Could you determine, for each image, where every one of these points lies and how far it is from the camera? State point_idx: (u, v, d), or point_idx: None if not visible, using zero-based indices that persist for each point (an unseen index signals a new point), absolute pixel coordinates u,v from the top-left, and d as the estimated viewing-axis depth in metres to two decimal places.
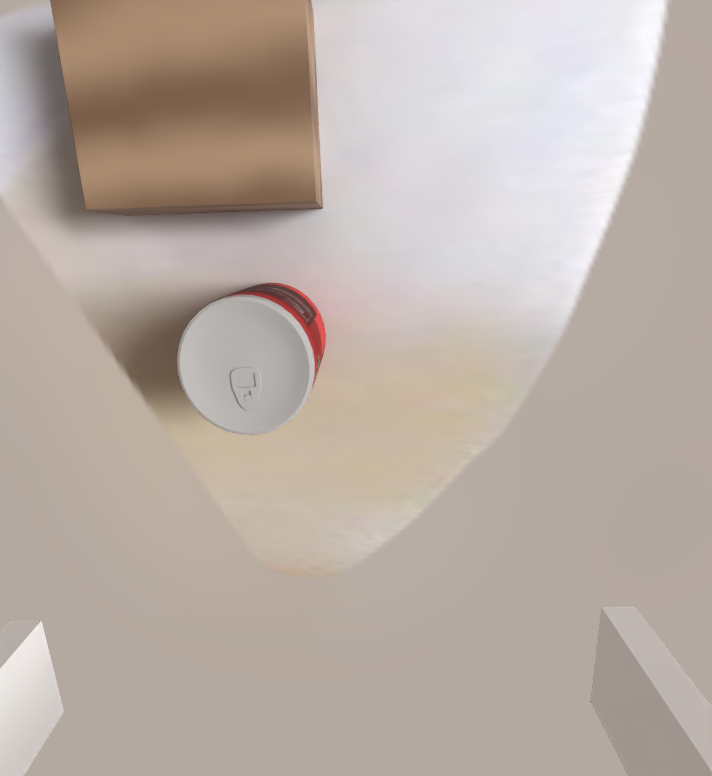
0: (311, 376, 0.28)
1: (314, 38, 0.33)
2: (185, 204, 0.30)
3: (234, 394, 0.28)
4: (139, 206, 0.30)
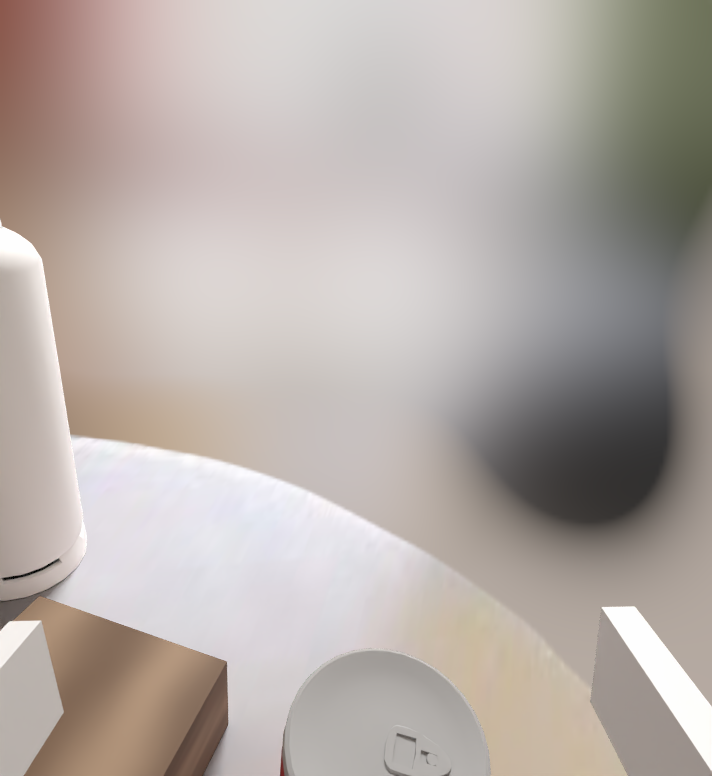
0: (416, 658, 0.22)
1: None
2: None
3: None
4: None
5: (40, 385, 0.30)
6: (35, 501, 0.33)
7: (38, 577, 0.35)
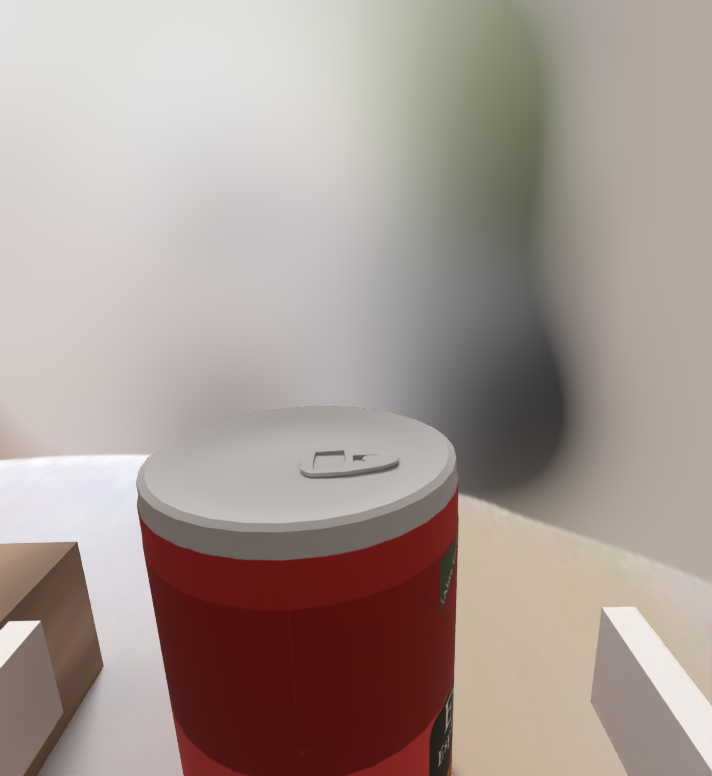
0: (329, 407, 0.16)
1: None
2: None
3: (360, 471, 0.12)
4: None
5: None
6: None
7: None
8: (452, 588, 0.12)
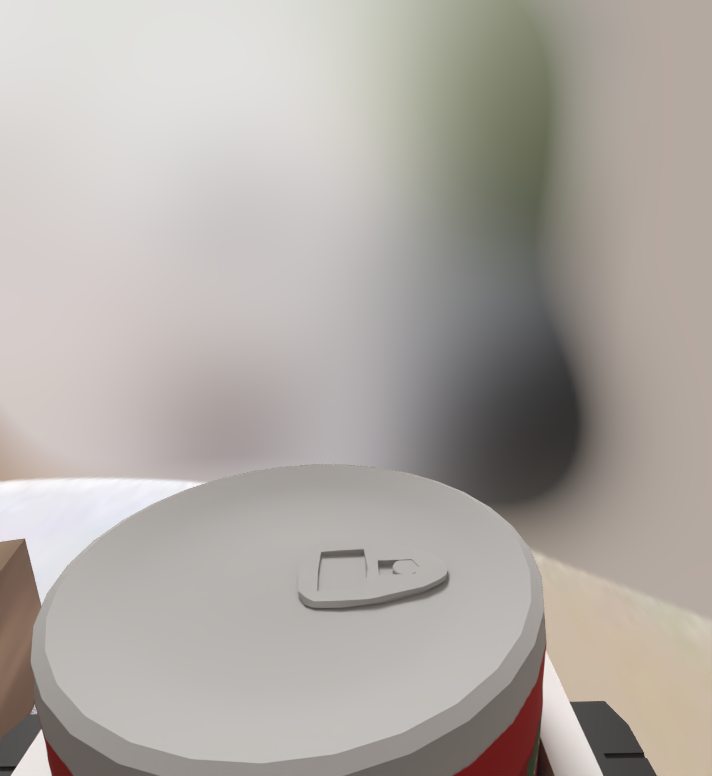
0: (340, 465, 0.12)
1: None
2: None
3: (392, 598, 0.08)
4: None
5: None
6: None
7: None
8: None
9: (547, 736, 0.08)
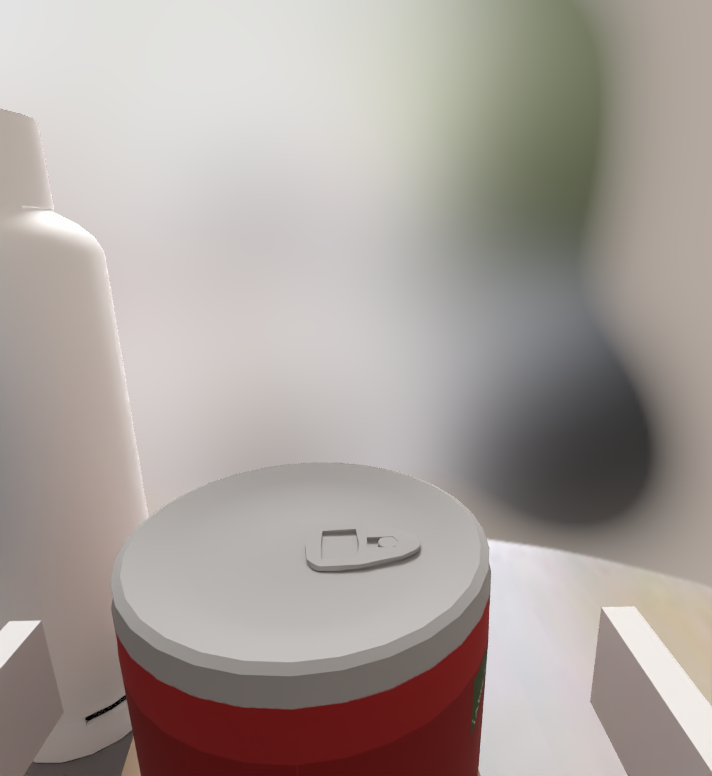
0: (335, 463, 0.14)
1: None
2: None
3: (378, 564, 0.10)
4: None
5: (121, 409, 0.23)
6: None
7: None
8: (482, 699, 0.10)
9: None
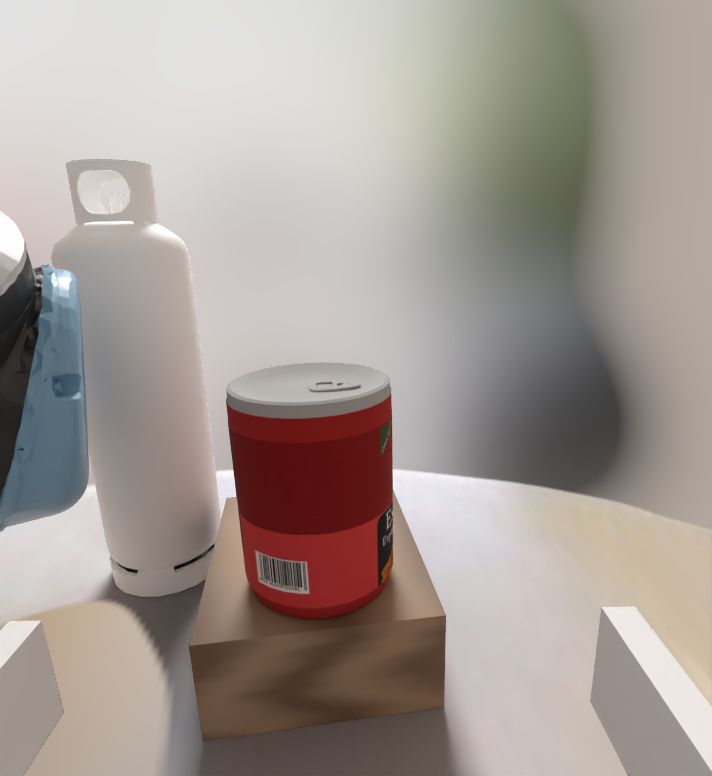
0: (323, 363, 0.28)
1: None
2: (414, 543, 0.30)
3: (340, 389, 0.24)
4: (426, 572, 0.27)
5: (199, 357, 0.34)
6: (201, 474, 0.35)
7: (204, 562, 0.36)
8: (388, 448, 0.24)
9: None
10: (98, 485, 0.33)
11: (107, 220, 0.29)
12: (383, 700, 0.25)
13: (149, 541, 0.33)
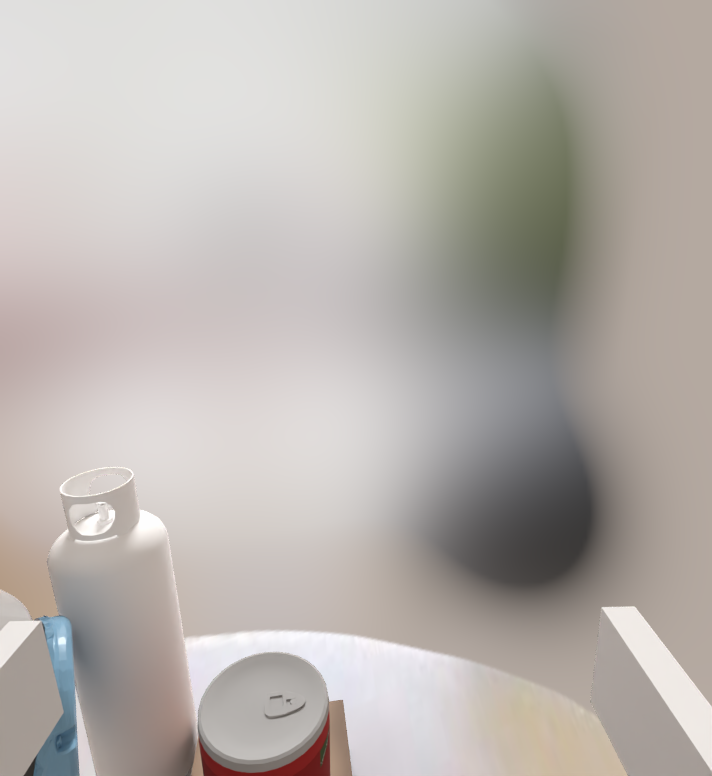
0: (274, 652, 0.34)
1: None
2: None
3: (289, 713, 0.30)
4: None
5: (176, 620, 0.39)
6: (179, 718, 0.40)
7: None
8: (326, 753, 0.31)
9: None
10: (88, 737, 0.38)
11: (95, 539, 0.34)
12: None
13: None
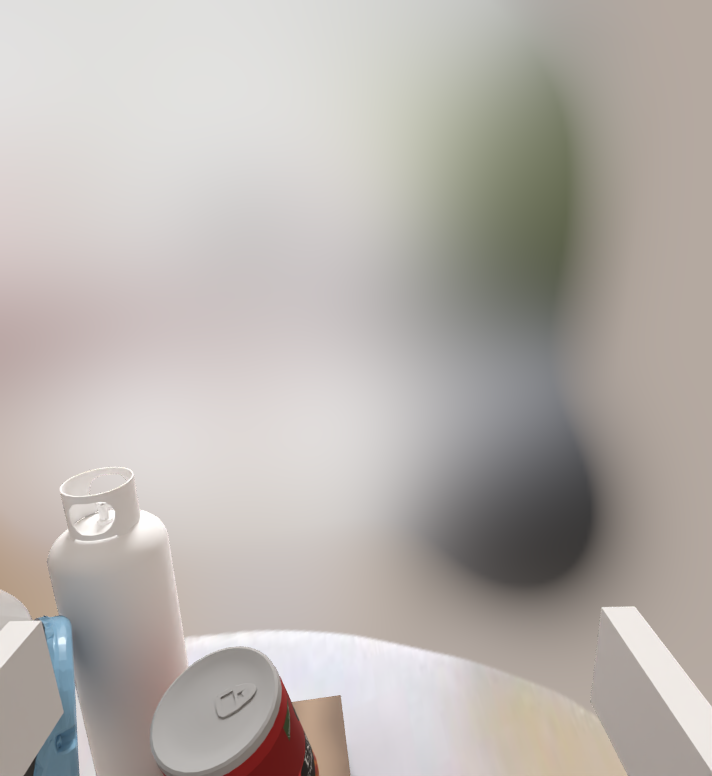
0: (216, 651, 0.33)
1: None
2: None
3: (243, 705, 0.30)
4: None
5: (176, 620, 0.39)
6: None
7: None
8: (292, 725, 0.31)
9: None
10: (88, 737, 0.38)
11: (95, 539, 0.34)
12: None
13: None
